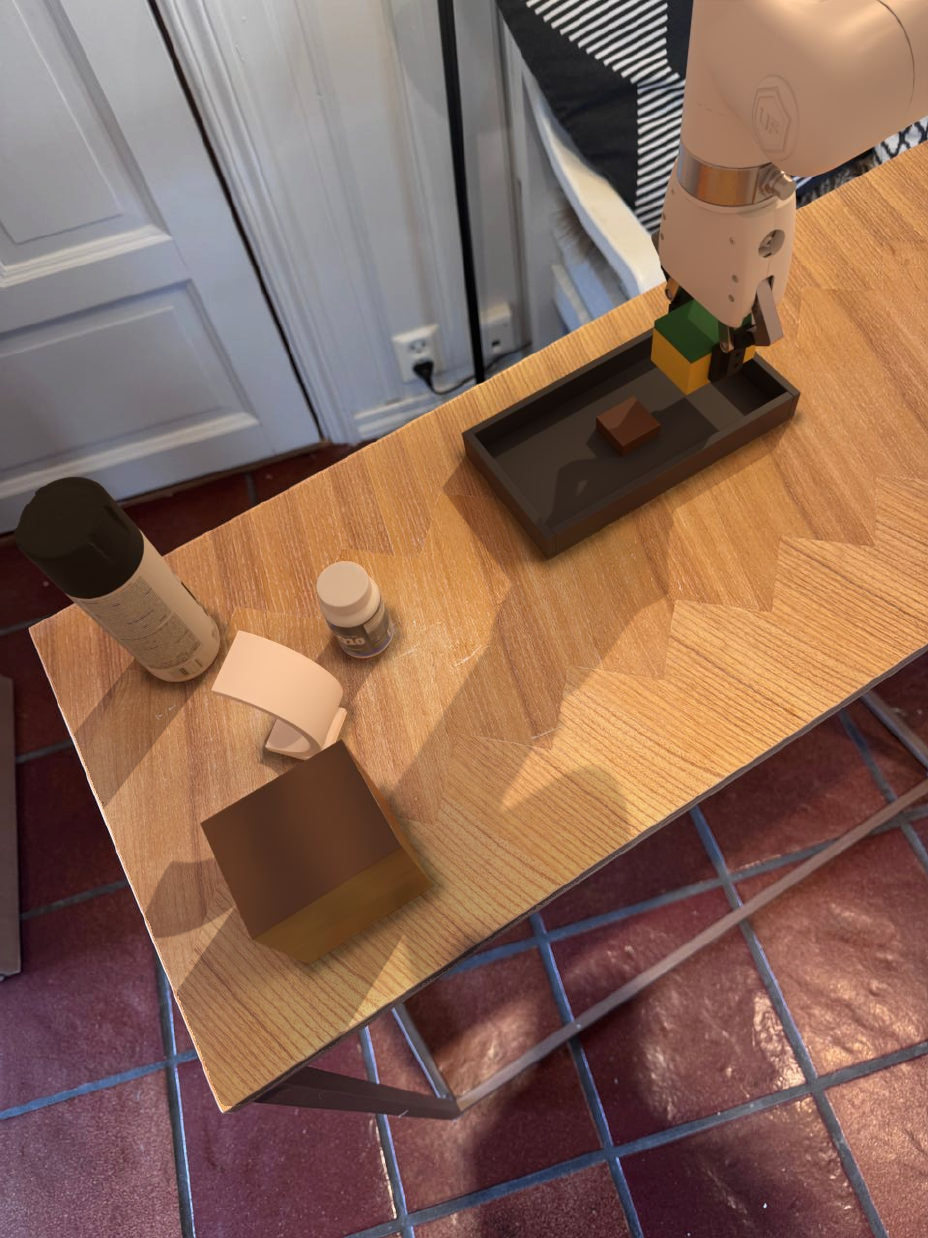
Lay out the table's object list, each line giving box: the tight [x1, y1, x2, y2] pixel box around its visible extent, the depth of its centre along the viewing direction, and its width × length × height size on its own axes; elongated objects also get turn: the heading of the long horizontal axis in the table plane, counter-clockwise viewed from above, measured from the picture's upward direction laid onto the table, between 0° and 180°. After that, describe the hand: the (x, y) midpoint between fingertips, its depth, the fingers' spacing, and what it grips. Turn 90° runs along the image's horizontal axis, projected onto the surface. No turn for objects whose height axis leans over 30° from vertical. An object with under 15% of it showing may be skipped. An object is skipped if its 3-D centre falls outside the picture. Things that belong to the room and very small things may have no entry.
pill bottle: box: [315, 560, 394, 659], centre depth 69 cm, size 5×5×8 cm
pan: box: [461, 326, 802, 560], centre depth 77 cm, size 26×14×3 cm, turn 121°
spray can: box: [13, 476, 221, 683], centre depth 65 cm, size 7×7×20 cm
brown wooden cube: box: [199, 738, 434, 965], centre depth 58 cm, size 10×8×12 cm
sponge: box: [651, 299, 757, 395], centre depth 74 cm, size 7×5×4 cm
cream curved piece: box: [210, 630, 348, 761], centre depth 64 cm, size 5×6×12 cm
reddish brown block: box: [596, 396, 661, 456], centre depth 78 cm, size 4×4×2 cm
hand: (703, 351), depth 75 cm, fingers closed on sponge, 5 cm apart
